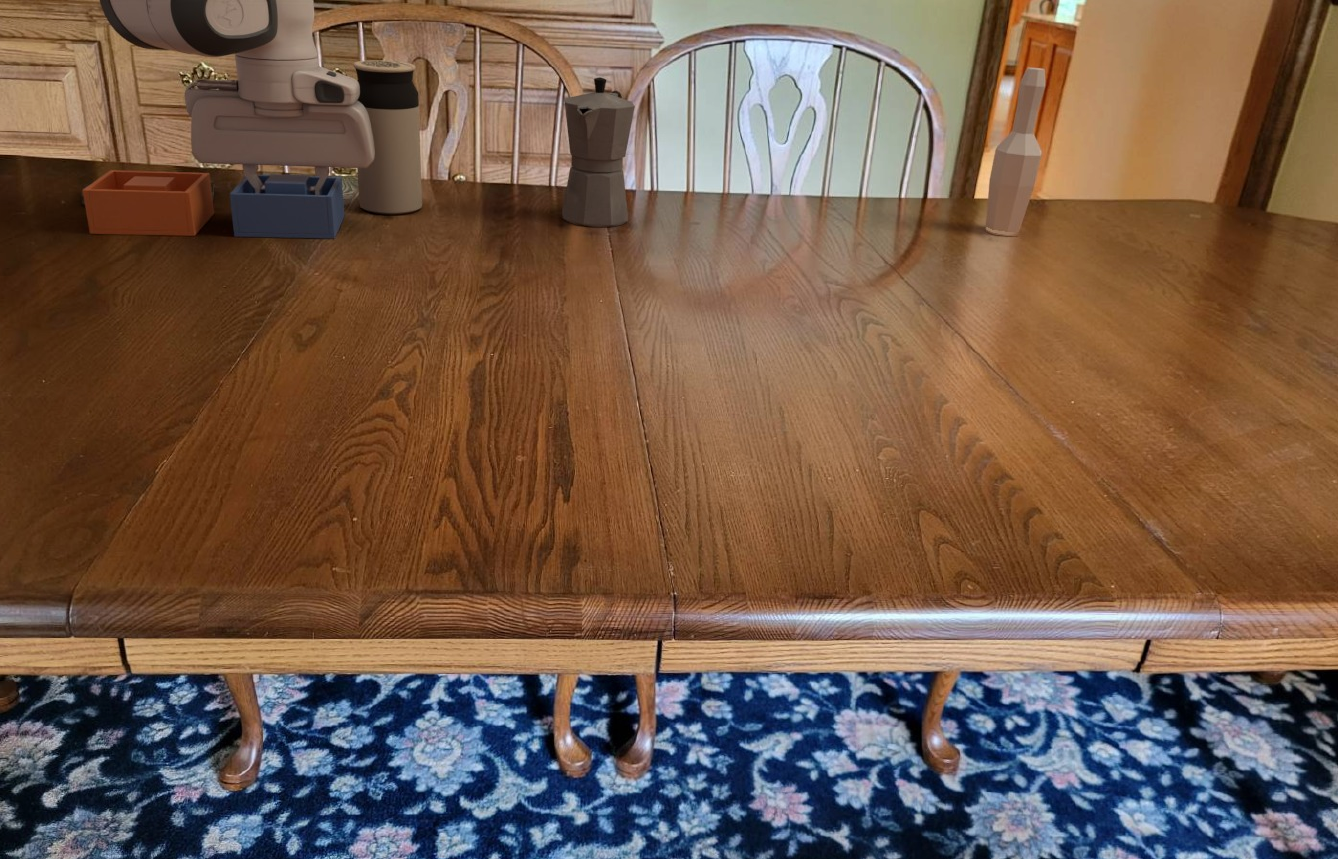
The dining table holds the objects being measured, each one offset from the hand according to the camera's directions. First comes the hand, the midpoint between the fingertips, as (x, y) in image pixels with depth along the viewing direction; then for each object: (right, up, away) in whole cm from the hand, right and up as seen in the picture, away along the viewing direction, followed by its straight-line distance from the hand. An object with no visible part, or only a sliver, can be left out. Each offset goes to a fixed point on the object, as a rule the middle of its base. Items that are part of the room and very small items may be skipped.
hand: (290, 202), depth 126 cm
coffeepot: (+36, +1, +15) cm, 39 cm away
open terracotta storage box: (-21, +2, +9) cm, 23 cm away
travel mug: (+9, +2, +12) cm, 15 cm away
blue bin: (0, -3, +1) cm, 3 cm away
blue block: (0, -1, +1) cm, 2 cm away
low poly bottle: (+92, 0, +22) cm, 95 cm away
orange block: (-15, -2, -2) cm, 16 cm away
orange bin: (-16, -3, -1) cm, 16 cm away
